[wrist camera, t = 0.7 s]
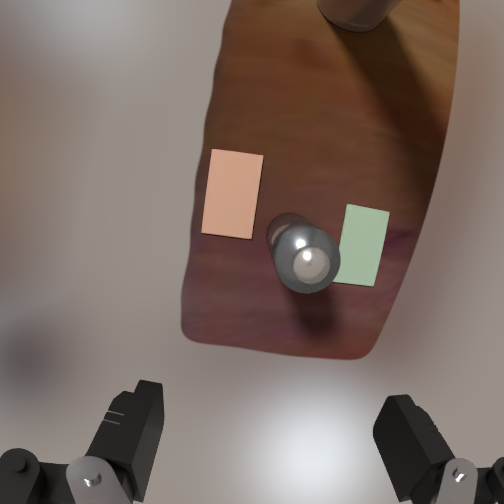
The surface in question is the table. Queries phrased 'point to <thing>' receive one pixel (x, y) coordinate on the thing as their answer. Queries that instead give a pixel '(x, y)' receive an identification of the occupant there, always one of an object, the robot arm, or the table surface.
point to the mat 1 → (232, 193)
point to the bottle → (302, 253)
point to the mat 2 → (361, 245)
